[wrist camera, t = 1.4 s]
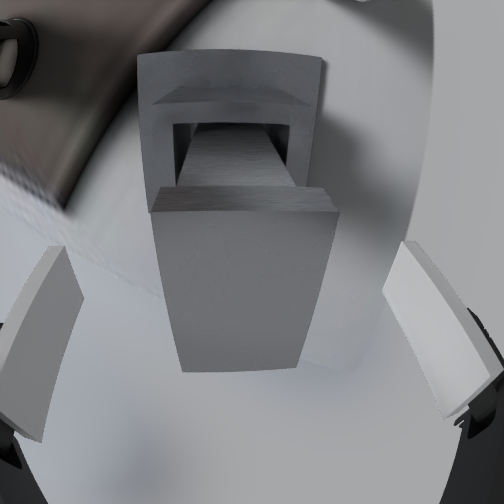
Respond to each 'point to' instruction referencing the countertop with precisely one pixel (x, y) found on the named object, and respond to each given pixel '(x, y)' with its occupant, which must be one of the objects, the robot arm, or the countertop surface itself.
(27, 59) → the french press
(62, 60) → the countertop surface
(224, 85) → the base
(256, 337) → the column
